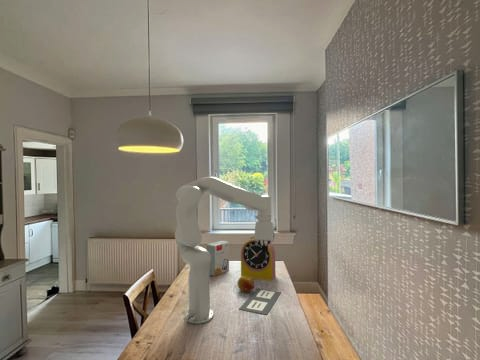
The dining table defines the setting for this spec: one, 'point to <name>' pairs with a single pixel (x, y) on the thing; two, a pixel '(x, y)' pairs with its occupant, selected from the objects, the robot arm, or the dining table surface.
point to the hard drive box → (219, 257)
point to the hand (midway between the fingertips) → (264, 252)
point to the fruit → (245, 283)
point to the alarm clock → (257, 260)
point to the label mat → (260, 301)
